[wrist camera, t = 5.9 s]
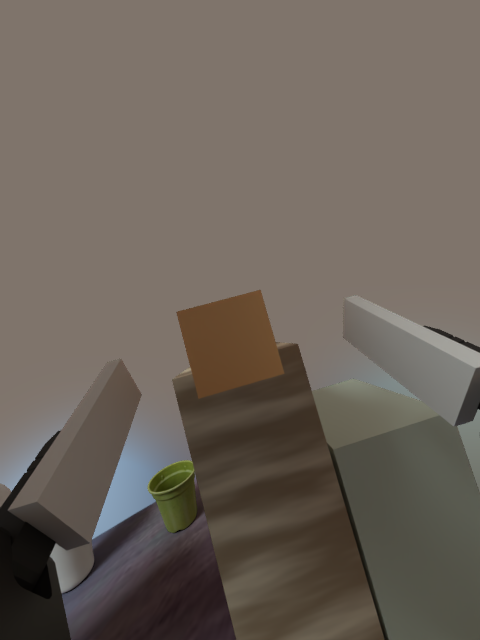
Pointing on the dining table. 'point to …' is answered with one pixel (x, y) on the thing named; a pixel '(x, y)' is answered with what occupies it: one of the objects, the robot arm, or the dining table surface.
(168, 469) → the plant pot
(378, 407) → the sage green pillar
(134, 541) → the dining table surface
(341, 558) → the tall stand
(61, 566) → the drinking glass
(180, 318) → the orange bar
